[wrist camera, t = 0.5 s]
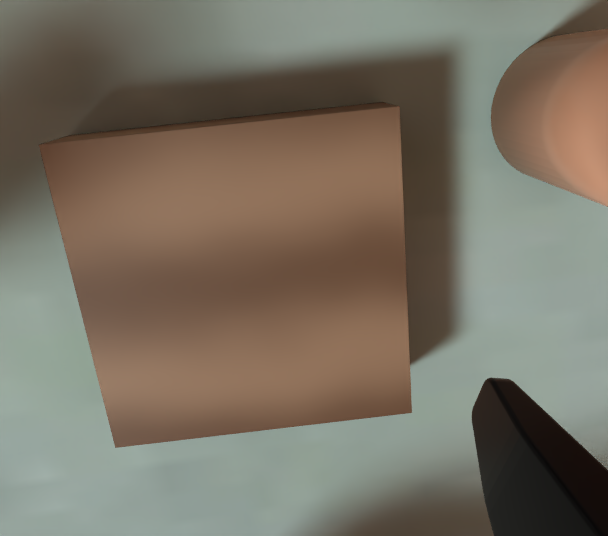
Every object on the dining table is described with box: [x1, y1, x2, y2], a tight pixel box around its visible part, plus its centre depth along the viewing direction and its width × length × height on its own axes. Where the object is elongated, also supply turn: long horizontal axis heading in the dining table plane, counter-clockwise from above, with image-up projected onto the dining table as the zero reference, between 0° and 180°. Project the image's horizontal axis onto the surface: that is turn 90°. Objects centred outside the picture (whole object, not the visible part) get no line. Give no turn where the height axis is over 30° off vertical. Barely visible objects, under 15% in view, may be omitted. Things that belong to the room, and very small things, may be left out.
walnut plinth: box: [39, 102, 412, 448], centre depth 22 cm, size 12×12×3 cm
